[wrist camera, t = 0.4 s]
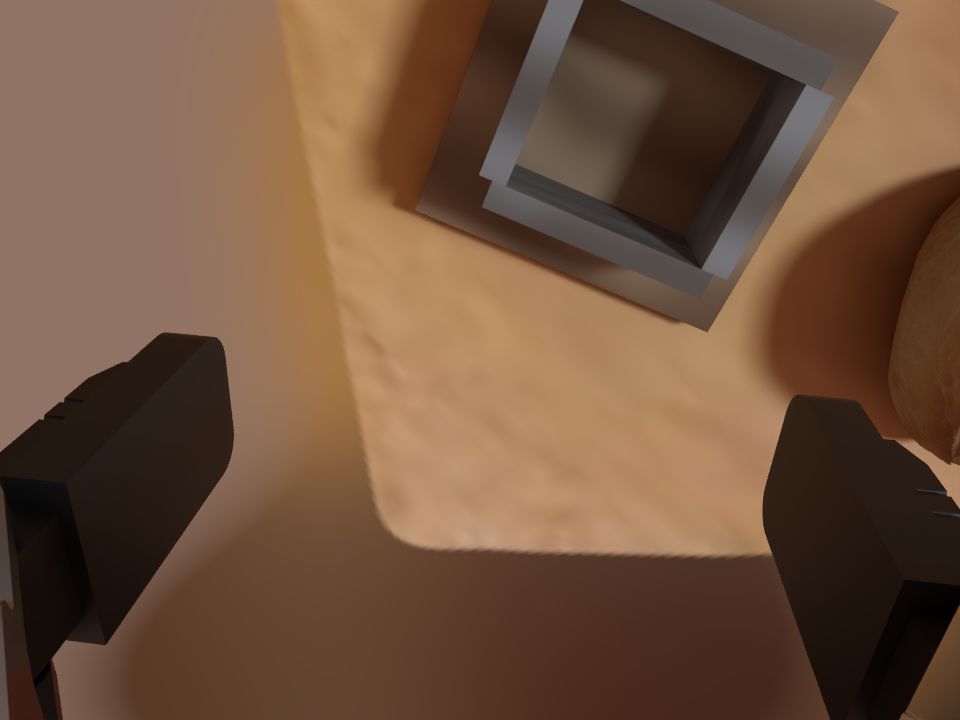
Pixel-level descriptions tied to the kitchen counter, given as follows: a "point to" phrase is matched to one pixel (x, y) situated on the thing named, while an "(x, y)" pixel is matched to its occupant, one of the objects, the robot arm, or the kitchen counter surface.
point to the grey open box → (645, 134)
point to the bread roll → (931, 343)
